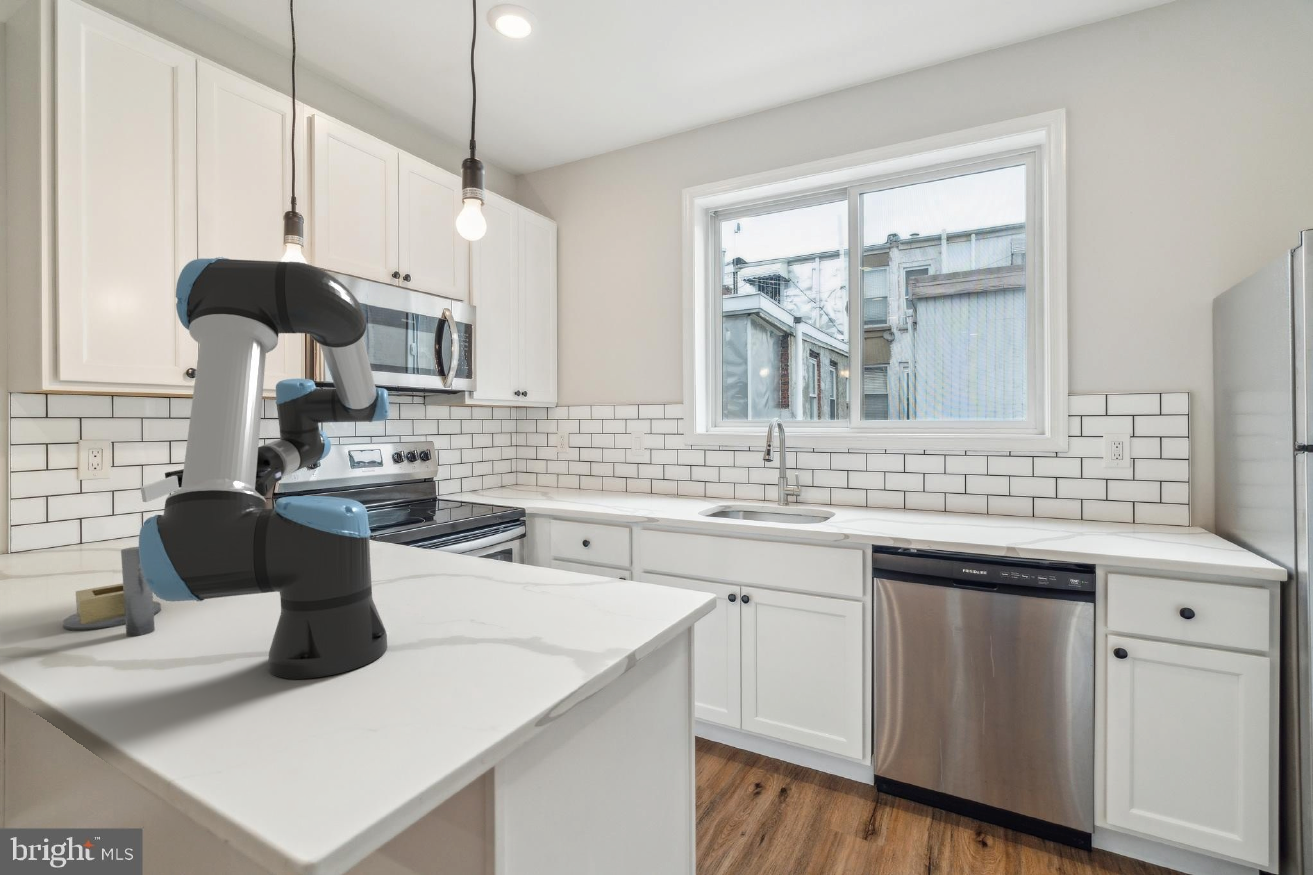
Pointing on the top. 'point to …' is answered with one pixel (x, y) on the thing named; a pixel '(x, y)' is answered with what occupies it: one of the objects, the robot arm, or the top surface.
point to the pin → (136, 595)
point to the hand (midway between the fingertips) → (177, 498)
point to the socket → (100, 609)
